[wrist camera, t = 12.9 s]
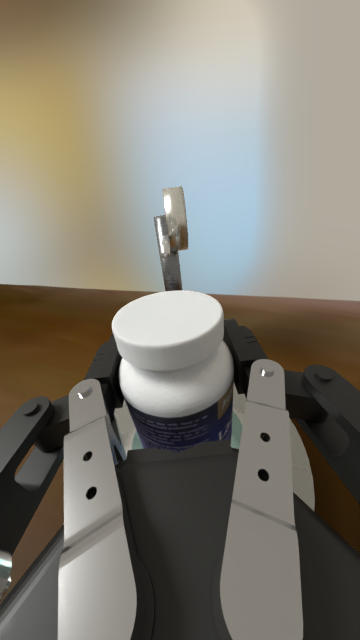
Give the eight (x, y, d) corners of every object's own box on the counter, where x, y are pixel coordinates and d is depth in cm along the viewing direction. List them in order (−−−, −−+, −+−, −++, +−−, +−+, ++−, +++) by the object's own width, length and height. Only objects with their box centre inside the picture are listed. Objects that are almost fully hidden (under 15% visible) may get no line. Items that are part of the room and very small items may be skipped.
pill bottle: (243, 483, 11) (261, 344, 6) (142, 496, 11) (71, 369, 6) (219, 396, 16) (218, 278, 11) (149, 405, 16) (113, 291, 11)
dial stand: (155, 398, 20) (98, 194, 10) (159, 335, 28) (130, 193, 19) (216, 391, 19) (212, 179, 10) (201, 330, 28) (192, 185, 19)
